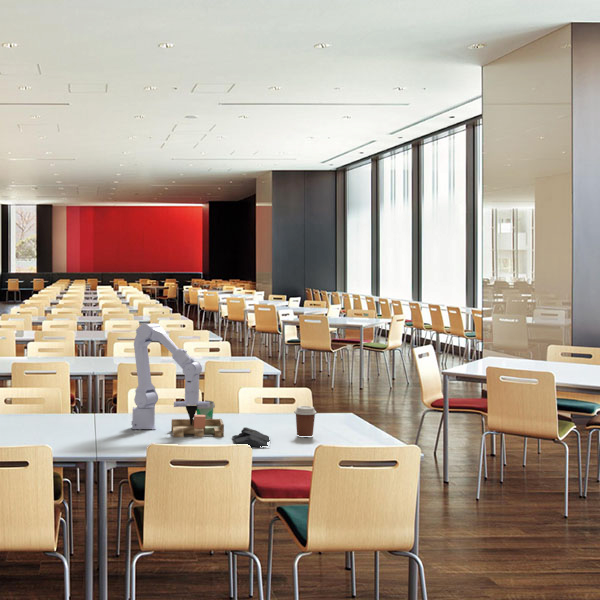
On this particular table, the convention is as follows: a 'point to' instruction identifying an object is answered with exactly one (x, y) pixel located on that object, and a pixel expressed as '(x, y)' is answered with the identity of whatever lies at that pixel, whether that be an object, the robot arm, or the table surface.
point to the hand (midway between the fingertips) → (191, 424)
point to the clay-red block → (199, 421)
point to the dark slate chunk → (251, 438)
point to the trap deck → (186, 430)
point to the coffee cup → (305, 420)
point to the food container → (206, 410)
